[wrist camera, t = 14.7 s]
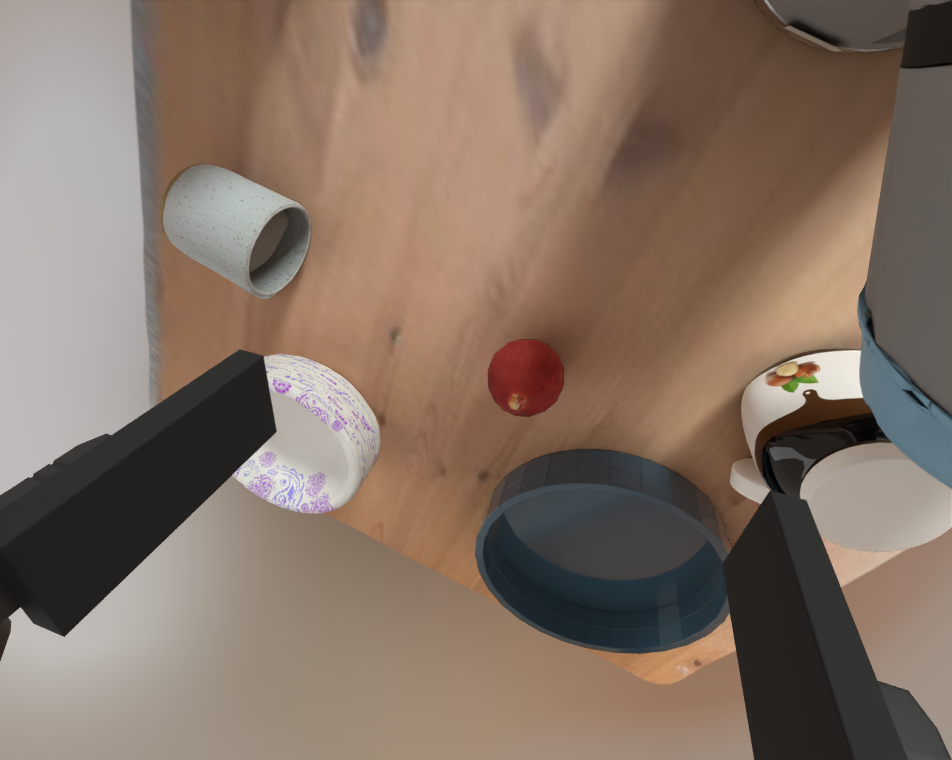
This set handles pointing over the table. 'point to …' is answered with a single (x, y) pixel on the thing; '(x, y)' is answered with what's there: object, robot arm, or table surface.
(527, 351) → the onion
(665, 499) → the bowl
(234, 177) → the ceramic mug
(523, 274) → the table surface
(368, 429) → the paper bowls
